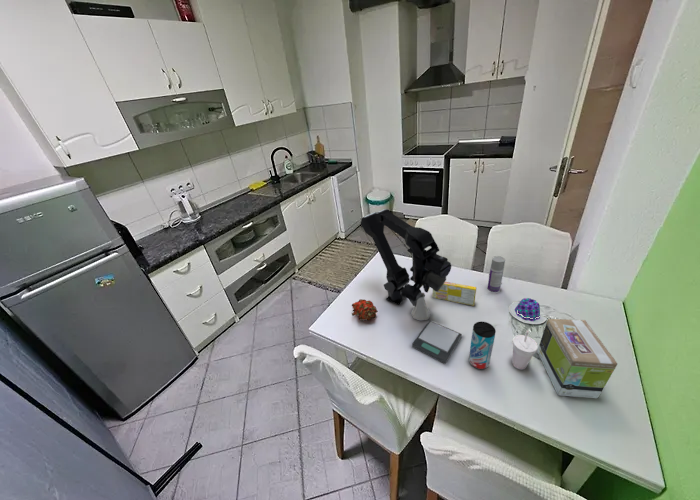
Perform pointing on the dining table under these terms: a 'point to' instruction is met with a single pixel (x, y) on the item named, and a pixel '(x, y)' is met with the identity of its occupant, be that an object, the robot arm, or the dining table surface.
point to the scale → (437, 341)
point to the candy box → (456, 293)
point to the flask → (421, 309)
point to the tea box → (575, 358)
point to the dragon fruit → (364, 310)
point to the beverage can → (481, 345)
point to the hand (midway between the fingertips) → (420, 298)
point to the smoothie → (523, 350)
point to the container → (496, 274)
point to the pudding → (527, 311)
